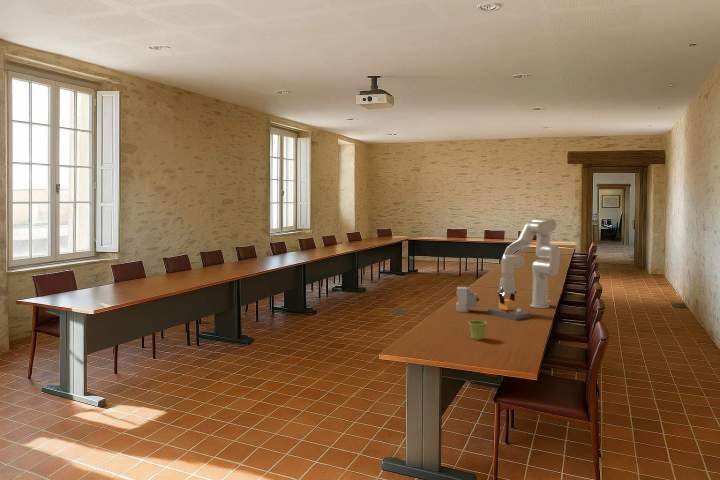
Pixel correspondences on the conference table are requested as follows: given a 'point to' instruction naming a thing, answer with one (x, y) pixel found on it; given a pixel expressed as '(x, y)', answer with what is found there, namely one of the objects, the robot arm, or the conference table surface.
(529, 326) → the conference table surface
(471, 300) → the circuit breaker
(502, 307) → the cap
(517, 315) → the panel
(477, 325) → the plant pot
